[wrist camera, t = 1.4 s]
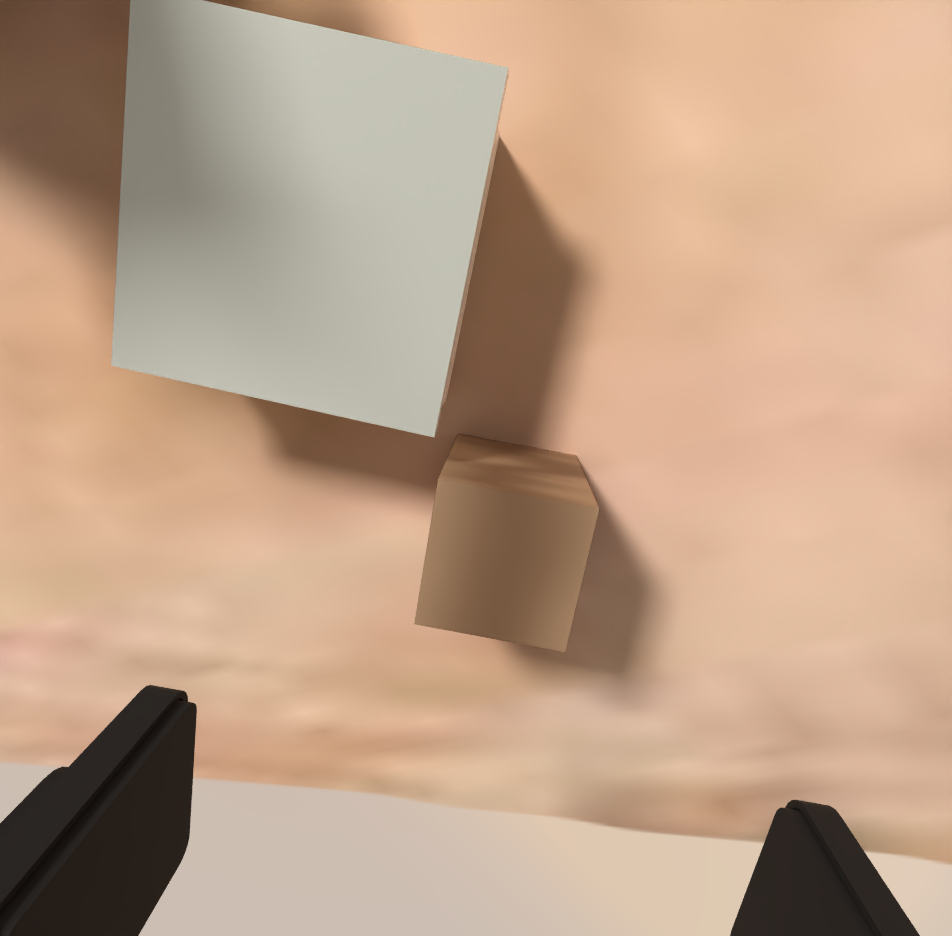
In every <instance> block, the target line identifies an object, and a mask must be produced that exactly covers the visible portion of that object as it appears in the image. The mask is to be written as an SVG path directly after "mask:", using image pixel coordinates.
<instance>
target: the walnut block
mask: <svg viewBox="0 0 952 936" xmlns="http://www.w3.org/2000/svg"><path fill="white" fill-rule="evenodd" d="M598 513H599V507H598V504H597V502H596V500H595V497H594V495H593V493H592V490H591V488H590V486H589V484H588V481H587V479H586V477H585V474H584V472H583V470H582V468H581V465H580V463H579V461H578V458H577V456H576V455H571V454H565V453H560V452H554V451H549V450H543V449H538V448H532V447H527V446H521V445H516V444H510V443H505V442H499V441H494V440H488V439H483V438H478V437H472V436H467V435H461V434H458V435H457V437H456V440H455V442H454V444H453V446H452V449H451V451H450V453H449V455H448V458H447V460H446V462H445V464H444V467H443V469H442V471H441V473H440V476H439V478H438V482H437V488H436V494H435V500H434V506H433V512H432V519H431V525H430V531H429V537H428V543H427V549H426V555H425V562H424V568H423V574H422V580H421V586H420V592H419V598H418V605H417V611H416V617H415V623H414V624H417V625H422V626H427V627H433V628H438V629H443V630H449V631H454V632H459V633H465V634H470V635H476V636H481V637H486V638H492V639H497V640H502V641H508V642H513V643H518V644H524V645H529V646H535V647H540V648H545V649H551V650H556V651H561V652H565V651H566V647H567V643H568V638H569V634H570V630H571V626H572V622H573V618H574V613H575V609H576V605H577V601H578V597H579V593H580V588H581V584H582V580H583V576H584V572H585V568H586V563H587V559H588V555H589V551H590V547H591V542H592V538H593V534H594V530H595V526H596V522H597V517H598Z"/></svg>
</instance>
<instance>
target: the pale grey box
mask: <svg viewBox="0 0 952 936" xmlns="http://www.w3.org/2000/svg"><path fill="white" fill-rule="evenodd" d="M507 80H508V68H507V67H503V66H498V65H494V64H489V63H484V62H480V61H475V60H471V59H466V58H462V57H457V56H453V55H448V54H444V53H439V52H435V51H430V50H426V49H421V48H417V47H412V46H407V45H403V44H398V43H394V42H389V41H385V40H380V39H376V38H371V37H367V36H362V35H358V34H353V33H349V32H344V31H340V30H335V29H330V28H326V27H321V26H317V25H312V24H308V23H303V22H299V21H294V20H290V19H285V18H281V17H276V16H272V15H267V14H263V13H258V12H253V11H249V10H244V9H240V8H235V7H231V6H226V5H222V4H217V3H213V2H208V1H204V0H130V16H129V35H128V55H127V74H126V93H125V112H124V132H123V151H122V170H121V189H120V209H119V228H118V247H117V266H116V286H115V305H114V324H113V343H112V363H111V366H115V367H120V368H124V369H129V370H133V371H138V372H142V373H147V374H151V375H156V376H160V377H165V378H169V379H174V380H178V381H183V382H187V383H192V384H196V385H201V386H205V387H210V388H214V389H219V390H223V391H228V392H232V393H236V394H241V395H245V396H250V397H254V398H259V399H263V400H268V401H272V402H277V403H281V404H286V405H290V406H295V407H299V408H304V409H308V410H313V411H317V412H322V413H326V414H331V415H335V416H340V417H344V418H349V419H353V420H358V421H362V422H367V423H371V424H376V425H380V426H385V427H389V428H394V429H398V430H403V431H407V432H412V433H416V434H421V435H425V436H430V437H435V435H436V434H437V429H438V424H439V419H440V414H441V409H442V405H443V404H444V403H445V401H446V399H447V394H448V389H449V384H450V379H451V374H452V369H453V365H454V360H455V355H456V350H457V345H458V340H459V335H460V330H461V325H462V320H463V315H464V310H465V305H466V300H467V295H468V290H469V285H470V280H471V275H472V271H473V266H474V261H475V256H476V251H477V246H478V241H479V236H480V231H481V226H482V221H483V216H484V211H485V206H486V201H487V196H488V191H489V186H490V181H491V176H492V172H493V167H494V162H495V157H496V152H497V147H498V142H499V137H500V134H499V120H500V115H501V110H502V105H503V100H504V95H505V90H506V85H507Z"/></svg>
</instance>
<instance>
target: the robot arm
mask: <svg viewBox="0 0 952 936" xmlns="http://www.w3.org/2000/svg"><path fill="white" fill-rule="evenodd" d="M196 713H197V709H196V704H195V703H191V702H188V696H187V694H186V692H184V691H181V690H175V689H169V688H164V687H158V686H153V685H149V686H146V687H145V688H143V689H142V690H141V691H140V692H139V693H138V694H137V695H136V696H135V697H134V698H133V699H132V701H131V702H130V703H129V704H128V705H127V706H126V707H125V708H124V709H123V710H122V711H121V712H120V713H119V714H118V715H117V716H116V717H115V719H114V720H113V721H112V722H111V723H110V724H109V725H108V726H107V727H106V728H105V729H104V730H103V731H102V732H101V733H100V734H99V735H98V736H97V738H96V739H95V740H94V741H93V742H92V743H91V744H90V745H89V746H88V747H87V748H86V749H85V750H84V751H83V752H82V753H81V754H80V756H79V757H78V758H77V759H76V760H75V761H74V762H73V763H72V764H71V765H70V766H69V767H61V768H58V769H56V770H54V771H53V772H51V773H50V774H49V775H48V776H47V777H46V778H44V779H43V780H42V781H41V782H40V783H39V784H38V785H37V786H36V788H35V789H33V791H32V792H31V793H30V794H29V795H28V796H27V797H26V798H25V799H24V800H23V801H22V802H21V803H20V804H19V805H18V806H17V807H16V808H15V809H14V810H13V811H12V812H11V813H10V814H9V815H8V816H7V817H6V818H5V819H4V820H3V821H2V822H1V823H0V936H138V935H139V933H140V932H141V930H142V928H143V926H144V925H145V923H146V921H147V920H148V918H149V916H150V914H151V913H152V911H153V909H154V908H155V906H156V904H157V902H158V901H159V899H160V897H161V896H162V894H163V892H164V890H165V889H166V887H167V885H168V884H169V881H170V880H171V878H172V877H173V875H174V873H175V872H176V870H177V868H178V866H179V865H180V863H181V861H182V859H183V856H184V854H185V851H186V848H187V845H188V840H189V833H190V816H191V800H192V783H193V765H194V748H195V731H196ZM730 936H920V935H919V934H918V932H917V931H916V929H915V928H914V926H913V925H912V923H911V922H910V920H909V919H908V917H907V916H906V914H905V913H904V911H903V910H902V908H901V907H900V905H899V904H898V902H897V901H896V899H895V898H894V896H893V895H892V893H891V891H890V890H889V888H888V887H887V885H886V884H885V882H884V881H883V879H882V878H881V876H880V875H879V873H878V872H877V870H876V869H875V867H874V866H873V864H872V863H871V861H870V860H869V858H868V857H867V855H866V854H865V852H864V851H863V849H862V848H861V846H860V845H859V843H858V842H857V840H856V839H855V837H854V836H853V834H852V833H851V831H850V830H849V828H848V827H847V825H846V823H845V822H844V820H843V819H842V817H841V816H840V814H839V813H838V812H837V811H836V810H835V809H834V808H832V807H831V806H828V805H822V804H816V803H811V802H805V801H799V800H791V801H790V802H789V803H788V804H787V806H786V807H785V808H779V809H778V810H777V812H776V813H775V816H774V819H773V821H772V824H771V827H770V829H769V832H768V835H767V837H766V840H765V843H764V845H763V848H762V851H761V853H760V856H759V859H758V861H757V864H756V866H755V869H754V872H753V874H752V877H751V880H750V883H749V885H748V888H747V891H746V893H745V896H744V898H743V901H742V904H741V907H740V909H739V912H738V914H737V917H736V920H735V922H734V925H733V928H732V931H731V935H730Z"/></svg>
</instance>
